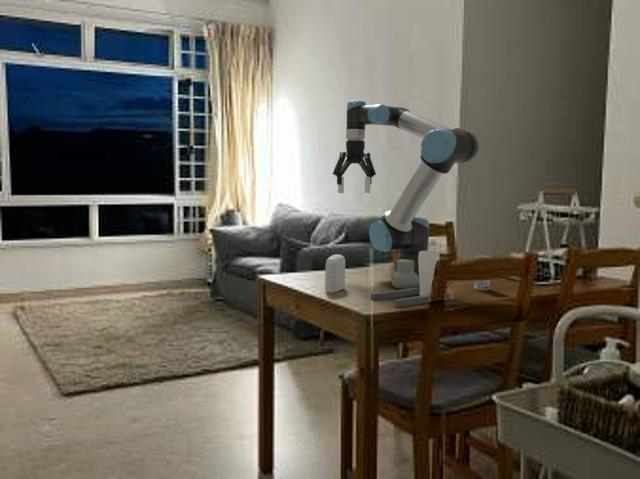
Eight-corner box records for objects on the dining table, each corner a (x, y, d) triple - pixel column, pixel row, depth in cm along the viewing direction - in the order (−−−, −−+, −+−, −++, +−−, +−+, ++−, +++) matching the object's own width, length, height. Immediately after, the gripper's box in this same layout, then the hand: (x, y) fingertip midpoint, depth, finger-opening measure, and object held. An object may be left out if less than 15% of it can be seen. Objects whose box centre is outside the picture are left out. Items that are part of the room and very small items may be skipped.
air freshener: (390, 285, 235) (391, 258, 234) (412, 285, 236) (413, 258, 235) (396, 291, 224) (397, 262, 223) (420, 291, 225) (421, 262, 224)
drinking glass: (415, 294, 218) (416, 250, 217) (434, 294, 219) (436, 250, 217) (419, 298, 212) (421, 253, 210) (440, 298, 212) (442, 253, 211)
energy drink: (490, 288, 232) (491, 255, 231) (488, 291, 227) (490, 257, 226) (474, 287, 234) (476, 254, 233) (473, 289, 229) (474, 256, 228)
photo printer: (335, 293, 218) (335, 257, 217) (323, 292, 220) (324, 256, 219) (346, 288, 228) (347, 253, 226) (335, 287, 229) (335, 252, 228)
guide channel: (425, 292, 223) (425, 285, 223) (453, 299, 212) (453, 291, 212) (371, 299, 209) (371, 291, 209) (398, 307, 199) (398, 299, 198)
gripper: (335, 138, 252) (334, 193, 254) (385, 141, 266) (383, 193, 268) (324, 139, 258) (323, 192, 260) (373, 141, 272) (372, 192, 275)
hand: (354, 193), depth 264 cm, fingers open, 13 cm apart
